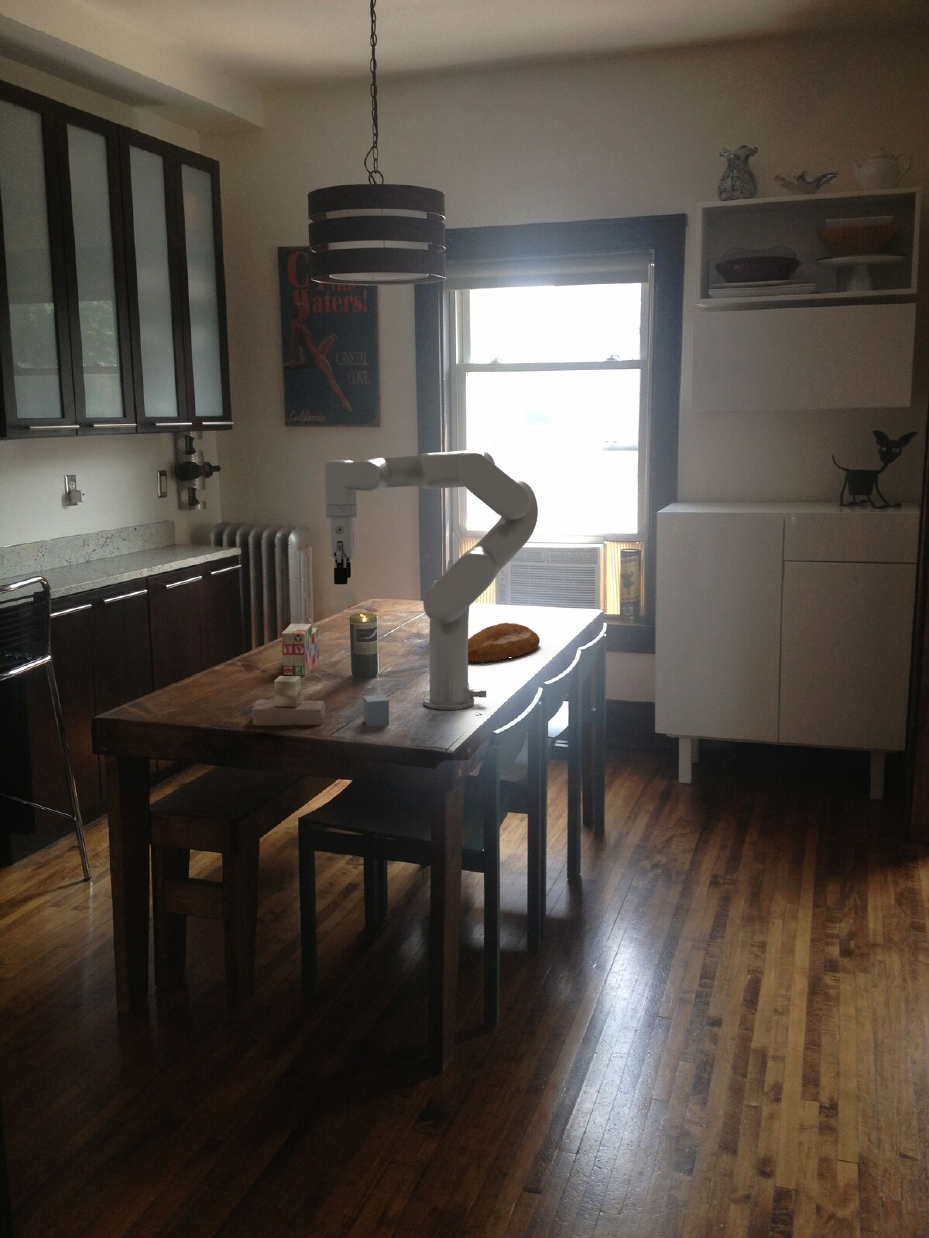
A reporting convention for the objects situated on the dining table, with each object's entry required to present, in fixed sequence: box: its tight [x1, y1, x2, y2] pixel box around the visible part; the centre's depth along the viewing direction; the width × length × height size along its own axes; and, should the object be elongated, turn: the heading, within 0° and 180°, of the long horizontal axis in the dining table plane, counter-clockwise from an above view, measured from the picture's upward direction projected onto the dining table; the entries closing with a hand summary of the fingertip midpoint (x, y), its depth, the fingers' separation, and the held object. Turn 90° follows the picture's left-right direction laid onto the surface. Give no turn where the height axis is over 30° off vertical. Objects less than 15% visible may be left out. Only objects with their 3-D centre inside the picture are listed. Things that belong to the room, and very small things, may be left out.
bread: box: [468, 622, 541, 663], centre depth 327 cm, size 18×35×9 cm, turn 142°
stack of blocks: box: [281, 623, 320, 677], centre depth 310 cm, size 21×6×12 cm, turn 177°
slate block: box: [362, 694, 390, 728], centre depth 256 cm, size 5×5×6 cm
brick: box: [251, 699, 327, 726], centre depth 259 cm, size 17×8×5 cm, turn 92°
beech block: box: [273, 675, 302, 707], centre depth 258 cm, size 5×5×6 cm
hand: (342, 580), depth 270 cm, fingers open, 9 cm apart
